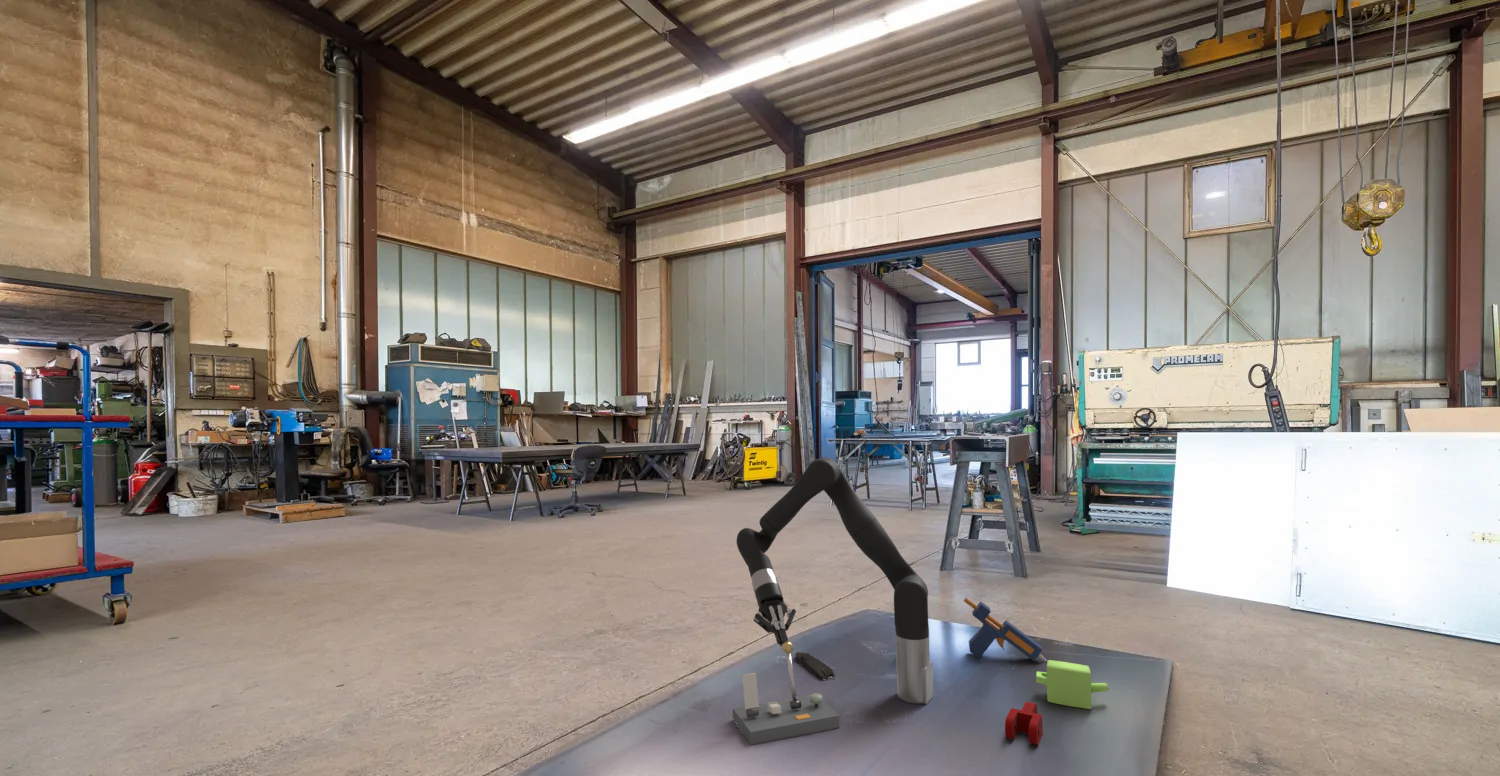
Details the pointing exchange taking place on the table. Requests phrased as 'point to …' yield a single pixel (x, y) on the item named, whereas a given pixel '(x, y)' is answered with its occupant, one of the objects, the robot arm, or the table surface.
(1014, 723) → the mechanical linkage
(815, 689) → the table surface
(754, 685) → the pale grey paddle
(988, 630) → the glue gun
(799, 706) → the brass lever
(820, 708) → the control panel
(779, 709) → the white rocker switch
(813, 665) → the wood
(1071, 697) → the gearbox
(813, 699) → the push button
